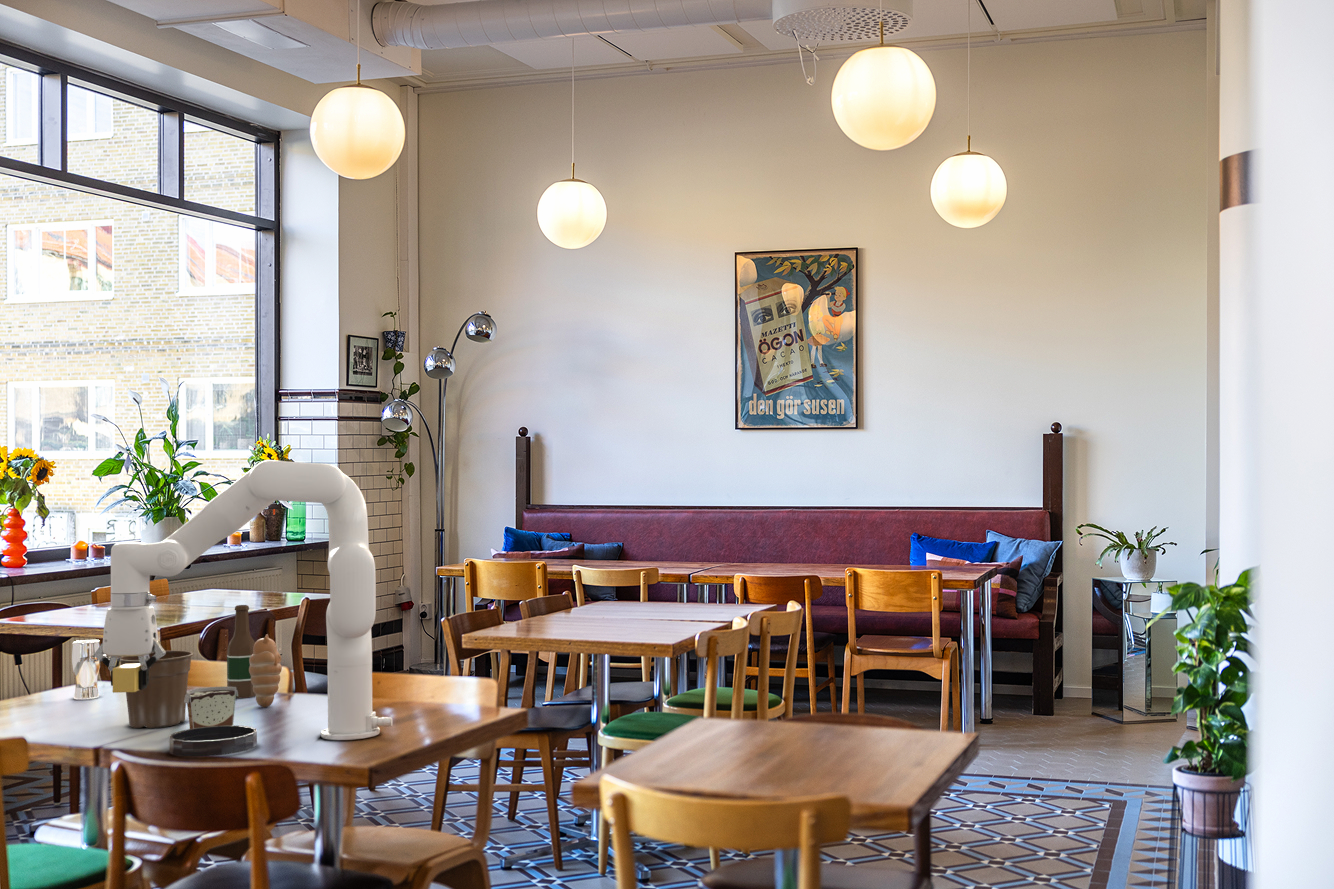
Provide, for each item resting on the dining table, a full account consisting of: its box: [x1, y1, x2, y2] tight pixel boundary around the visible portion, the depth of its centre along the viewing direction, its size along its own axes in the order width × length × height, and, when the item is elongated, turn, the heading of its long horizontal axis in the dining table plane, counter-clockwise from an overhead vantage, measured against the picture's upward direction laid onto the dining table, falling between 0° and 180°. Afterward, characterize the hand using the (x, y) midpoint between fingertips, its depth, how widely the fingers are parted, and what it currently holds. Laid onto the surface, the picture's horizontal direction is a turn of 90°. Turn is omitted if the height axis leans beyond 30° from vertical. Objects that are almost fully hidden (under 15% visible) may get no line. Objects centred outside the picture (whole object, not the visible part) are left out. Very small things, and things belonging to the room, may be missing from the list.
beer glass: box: [71, 639, 101, 701], centre depth 339 cm, size 7×7×15 cm
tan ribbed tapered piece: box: [249, 633, 283, 708], centre depth 319 cm, size 9×8×18 cm
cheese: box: [112, 663, 141, 694], centre depth 266 cm, size 4×7×5 cm, turn 3°
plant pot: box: [120, 650, 194, 729], centre depth 298 cm, size 16×16×16 cm
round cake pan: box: [168, 724, 258, 757], centre depth 266 cm, size 17×17×4 cm
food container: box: [184, 686, 238, 729], centre depth 284 cm, size 12×6×10 cm, turn 141°
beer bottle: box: [226, 604, 256, 699], centre depth 337 cm, size 8×8×24 cm
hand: (129, 688), depth 265 cm, fingers closed on cheese, 4 cm apart
